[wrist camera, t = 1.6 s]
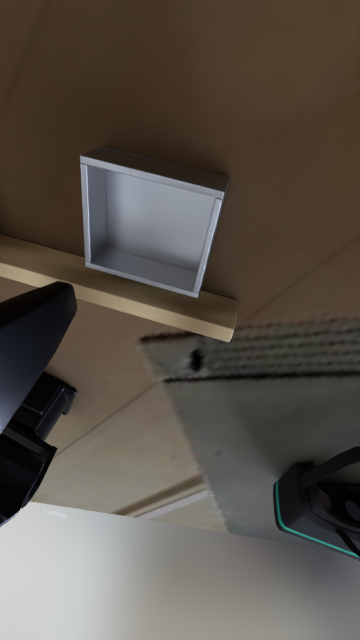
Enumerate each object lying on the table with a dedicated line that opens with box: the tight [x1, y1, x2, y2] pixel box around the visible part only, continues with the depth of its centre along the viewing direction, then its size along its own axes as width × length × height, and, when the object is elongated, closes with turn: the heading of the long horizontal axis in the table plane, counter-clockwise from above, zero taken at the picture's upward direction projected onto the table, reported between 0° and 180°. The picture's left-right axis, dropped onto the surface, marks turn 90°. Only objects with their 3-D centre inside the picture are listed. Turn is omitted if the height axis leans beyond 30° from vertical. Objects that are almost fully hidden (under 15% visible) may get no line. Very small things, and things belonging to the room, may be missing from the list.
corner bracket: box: [0, 234, 239, 342], centre depth 19 cm, size 22×12×4 cm, turn 80°
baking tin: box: [80, 146, 230, 298], centre depth 19 cm, size 8×7×3 cm
